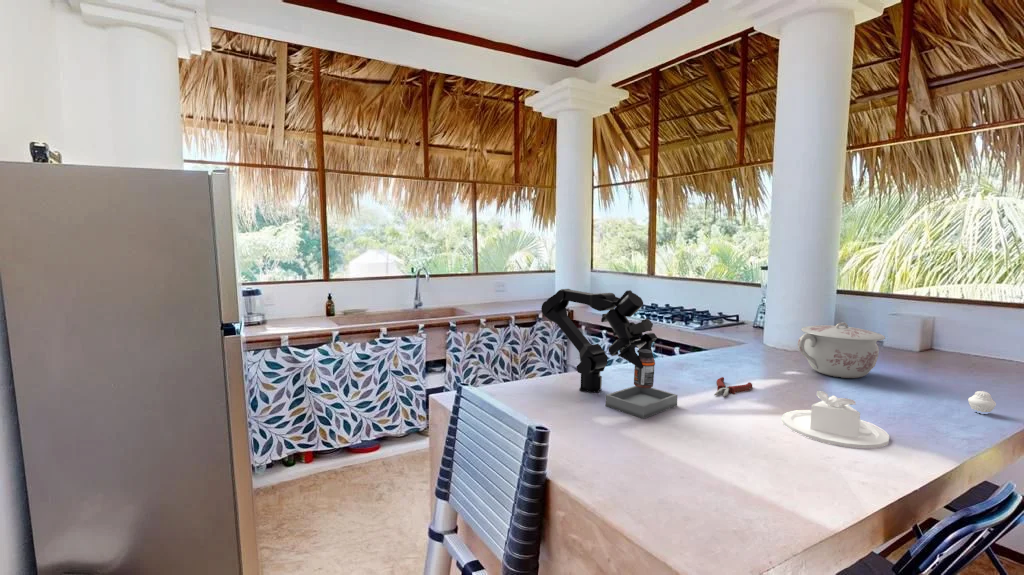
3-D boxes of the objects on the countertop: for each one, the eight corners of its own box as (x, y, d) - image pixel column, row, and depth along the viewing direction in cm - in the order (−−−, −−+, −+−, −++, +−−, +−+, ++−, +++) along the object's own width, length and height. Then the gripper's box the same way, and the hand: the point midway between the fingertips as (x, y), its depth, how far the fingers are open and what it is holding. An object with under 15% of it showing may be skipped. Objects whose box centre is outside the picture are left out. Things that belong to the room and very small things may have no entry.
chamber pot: (877, 371, 194) (882, 321, 192) (885, 388, 171) (891, 331, 169) (797, 361, 209) (800, 314, 207) (795, 376, 186) (798, 323, 184)
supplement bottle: (630, 382, 152) (632, 348, 151) (649, 382, 153) (651, 348, 151) (637, 389, 146) (639, 353, 145) (656, 389, 147) (658, 353, 145)
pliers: (701, 395, 163) (701, 388, 162) (719, 382, 178) (720, 375, 178) (736, 403, 155) (737, 395, 155) (753, 389, 171) (753, 382, 170)
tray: (605, 405, 150) (605, 394, 150) (639, 394, 161) (639, 384, 161) (643, 418, 139) (643, 407, 139) (676, 405, 151) (677, 394, 150)
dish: (896, 458, 116) (900, 413, 115) (779, 435, 129) (782, 394, 128) (883, 425, 137) (886, 387, 136) (783, 408, 150) (785, 373, 149)
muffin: (967, 408, 152) (969, 386, 151) (994, 413, 147) (997, 391, 147) (966, 412, 147) (969, 390, 147) (994, 418, 143) (997, 395, 142)
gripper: (618, 313, 144) (647, 357, 137) (653, 308, 156) (682, 348, 149) (596, 334, 151) (623, 376, 143) (632, 327, 163) (658, 366, 155)
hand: (648, 366), depth 148 cm, fingers closed on supplement bottle, 6 cm apart
